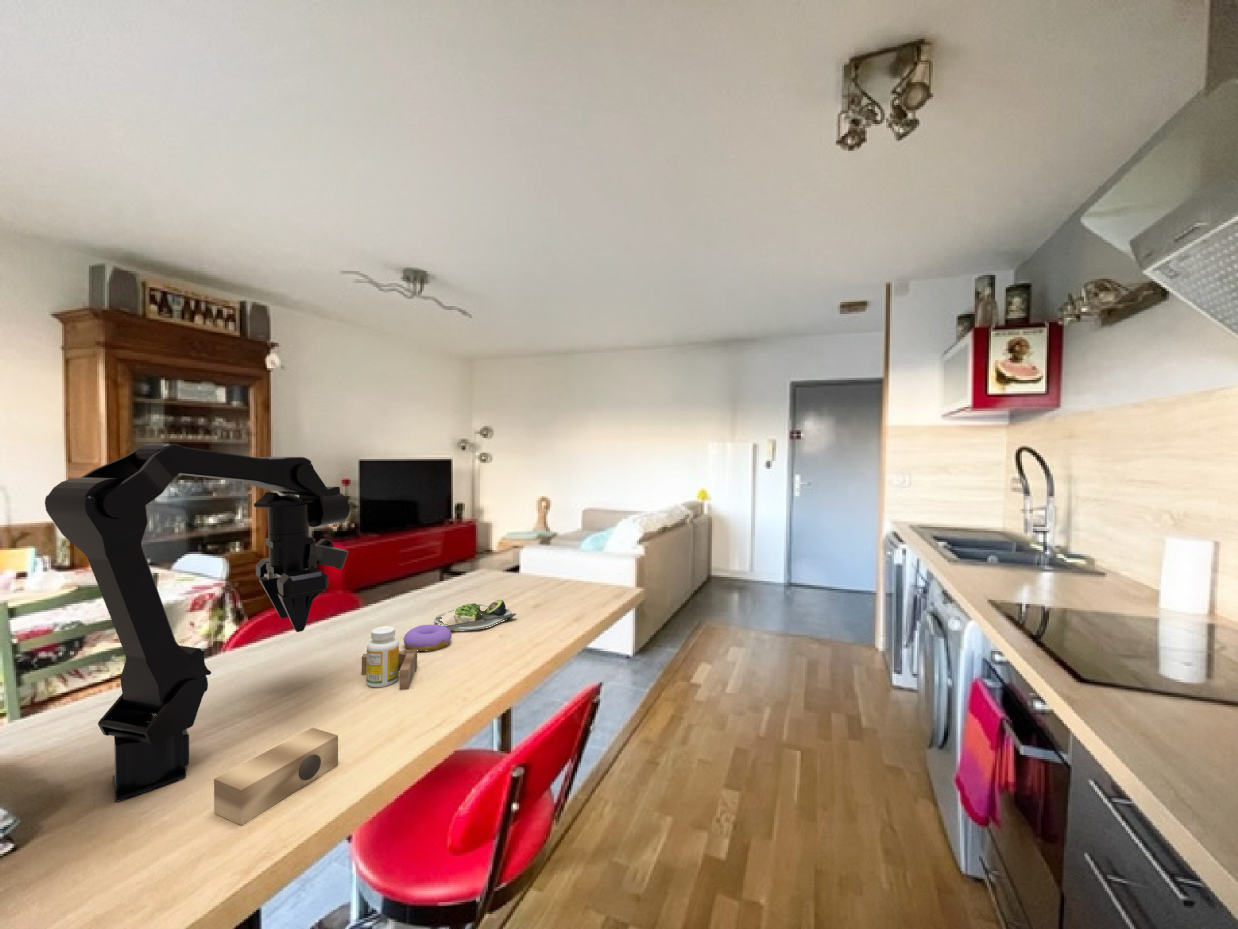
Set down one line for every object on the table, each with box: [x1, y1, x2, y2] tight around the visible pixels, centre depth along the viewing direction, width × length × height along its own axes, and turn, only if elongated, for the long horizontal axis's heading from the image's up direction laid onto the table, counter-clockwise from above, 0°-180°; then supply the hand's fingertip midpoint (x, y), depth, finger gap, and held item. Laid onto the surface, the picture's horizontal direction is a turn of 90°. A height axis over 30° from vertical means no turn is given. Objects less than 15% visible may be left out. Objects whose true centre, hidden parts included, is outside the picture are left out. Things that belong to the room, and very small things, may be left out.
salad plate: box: [433, 599, 517, 631], centre depth 125 cm, size 19×18×5 cm
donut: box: [402, 624, 452, 652], centre depth 110 cm, size 10×9×5 cm
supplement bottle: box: [365, 625, 400, 688], centre depth 92 cm, size 5×5×10 cm
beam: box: [213, 727, 339, 826], centre depth 62 cm, size 12×5×4 cm, turn 157°
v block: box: [361, 649, 418, 691], centre depth 95 cm, size 8×13×4 cm, turn 59°
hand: (291, 624), depth 84 cm, fingers open, 9 cm apart
